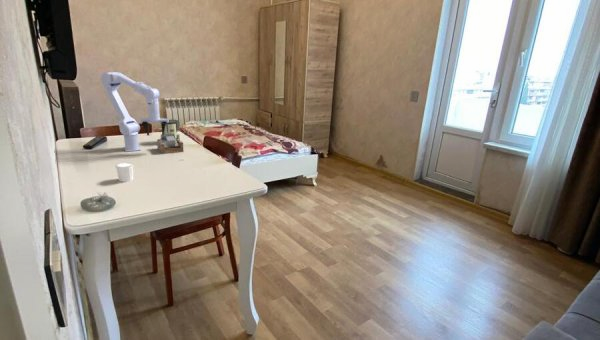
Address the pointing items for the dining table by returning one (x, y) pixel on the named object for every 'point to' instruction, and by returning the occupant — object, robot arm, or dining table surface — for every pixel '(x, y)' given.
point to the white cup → (125, 172)
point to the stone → (170, 141)
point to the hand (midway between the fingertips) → (155, 135)
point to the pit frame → (171, 149)
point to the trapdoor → (163, 140)
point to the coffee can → (172, 128)
